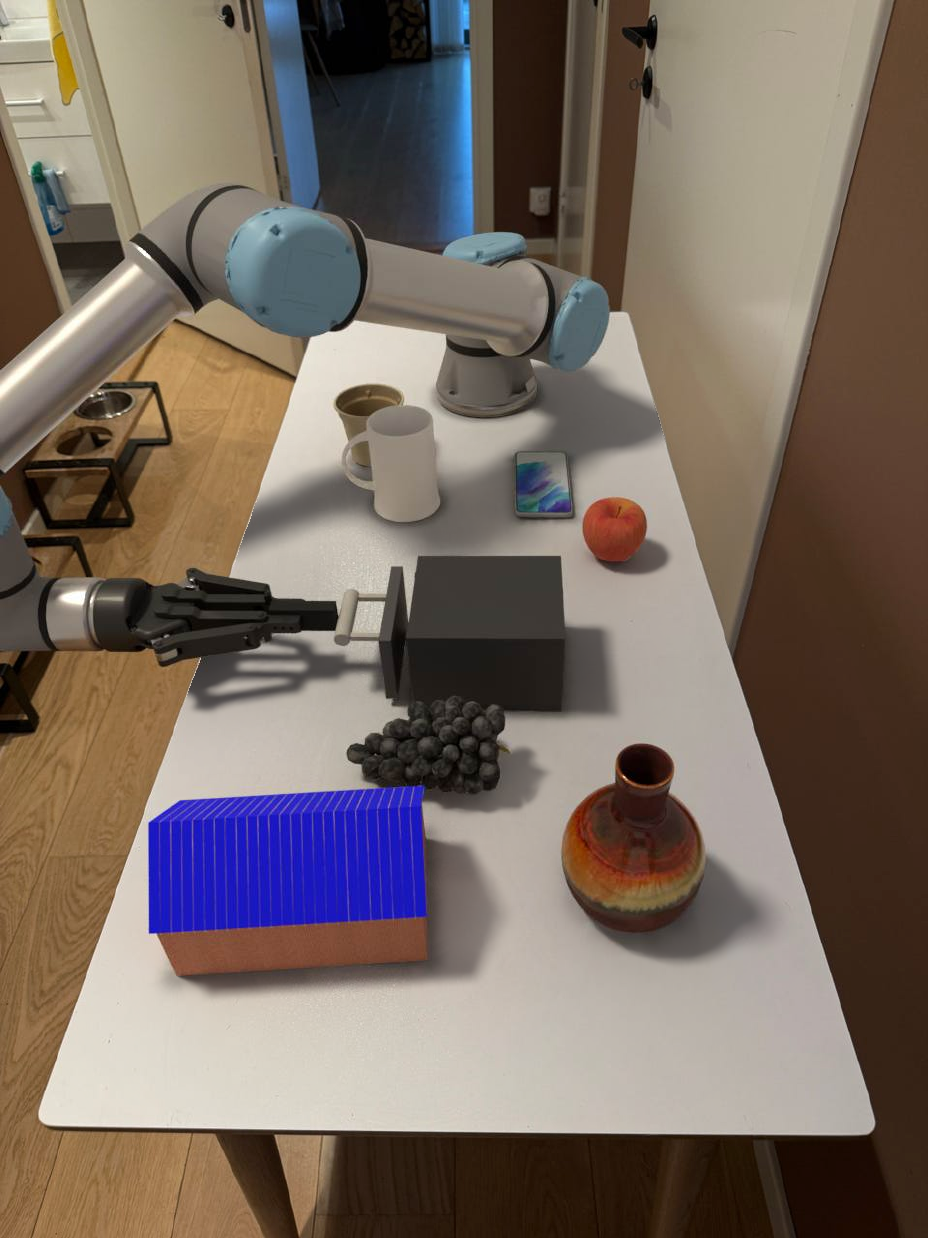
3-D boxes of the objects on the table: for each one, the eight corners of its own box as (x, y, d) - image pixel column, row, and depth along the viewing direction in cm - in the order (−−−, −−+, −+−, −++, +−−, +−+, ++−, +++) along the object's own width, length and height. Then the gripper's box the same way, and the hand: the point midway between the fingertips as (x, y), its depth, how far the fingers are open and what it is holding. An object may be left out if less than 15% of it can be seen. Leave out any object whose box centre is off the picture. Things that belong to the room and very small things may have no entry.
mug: (346, 525, 116) (333, 440, 108) (351, 487, 122) (340, 405, 115) (439, 521, 116) (434, 436, 108) (440, 484, 122) (435, 402, 114)
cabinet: (413, 710, 91) (406, 637, 85) (423, 625, 101) (417, 555, 95) (561, 711, 90) (565, 638, 84) (558, 626, 100) (561, 555, 94)
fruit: (331, 722, 78) (509, 723, 77) (350, 679, 86) (512, 679, 84) (340, 809, 81) (511, 811, 80) (357, 760, 89) (514, 761, 88)
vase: (602, 973, 70) (617, 852, 60) (536, 860, 78) (539, 736, 68) (725, 918, 73) (758, 794, 63) (649, 814, 81) (668, 689, 71)
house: (198, 848, 80) (164, 759, 72) (429, 834, 80) (420, 744, 72) (171, 980, 71) (129, 894, 63) (432, 964, 71) (422, 876, 63)
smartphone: (567, 450, 126) (573, 513, 114) (566, 456, 126) (572, 519, 115) (514, 450, 126) (514, 512, 115) (513, 456, 127) (514, 518, 115)
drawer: (337, 698, 92) (327, 640, 87) (353, 623, 100) (344, 565, 95) (522, 700, 91) (522, 641, 85) (522, 623, 99) (522, 566, 94)
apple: (629, 533, 112) (635, 477, 107) (653, 568, 107) (660, 511, 102) (572, 543, 111) (575, 487, 106) (593, 579, 106) (597, 522, 101)
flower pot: (406, 473, 125) (400, 416, 119) (336, 474, 125) (328, 417, 119) (411, 438, 132) (406, 382, 126) (345, 439, 132) (338, 383, 126)
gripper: (136, 602, 101) (350, 603, 99) (94, 686, 91) (331, 689, 90) (117, 546, 96) (341, 546, 95) (70, 629, 86) (320, 631, 85)
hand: (336, 616), depth 92 cm, fingers closed
